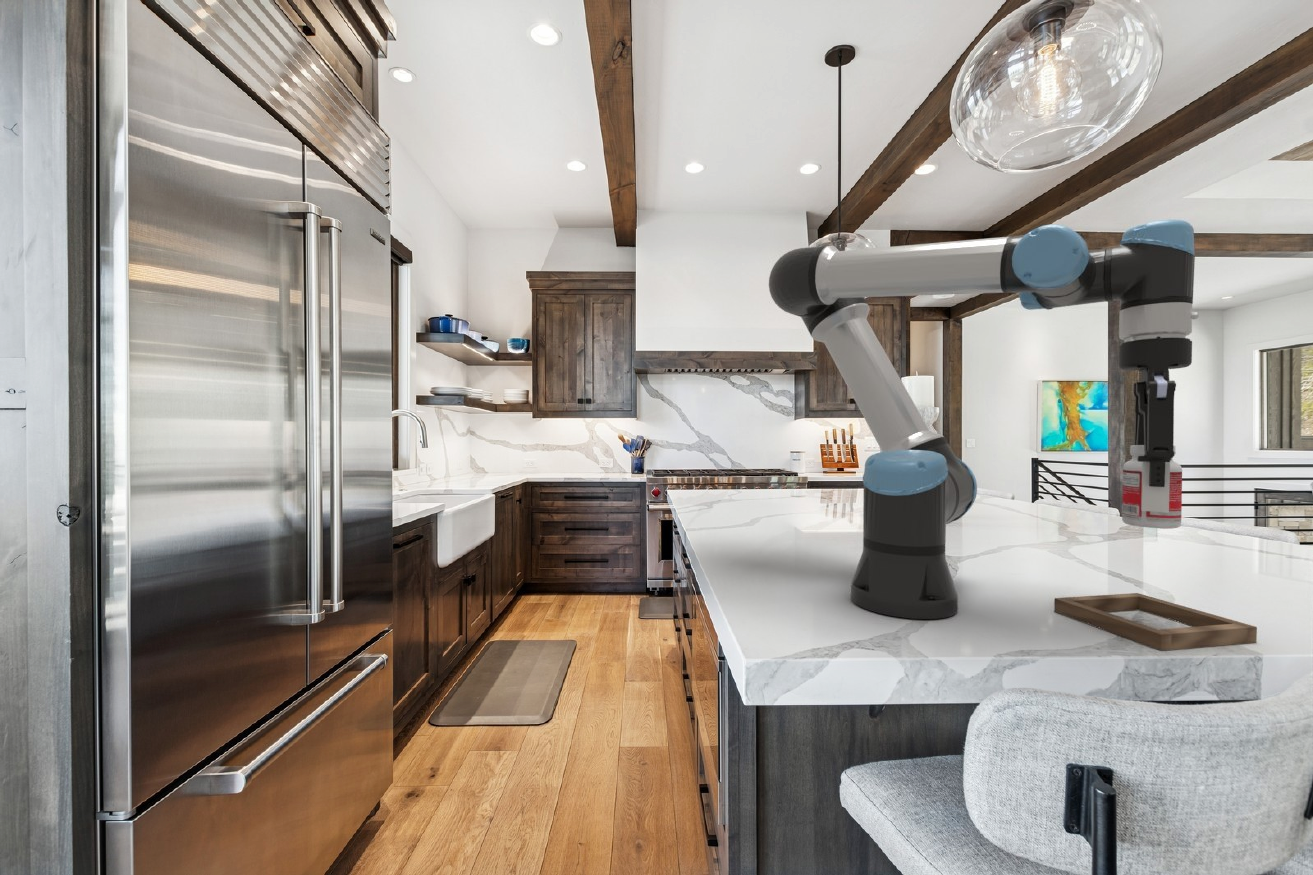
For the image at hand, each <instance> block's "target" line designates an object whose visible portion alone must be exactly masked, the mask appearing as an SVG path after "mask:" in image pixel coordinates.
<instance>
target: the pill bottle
mask: <svg viewBox="0 0 1313 875" xmlns="http://www.w3.org/2000/svg"><path fill="white" fill-rule="evenodd" d="M1129 449H1130V450H1129V455H1130V456H1132V457H1131V459H1130V460H1128V461H1126V462H1124V464H1123V466H1122V493H1121V494H1122V495H1121V496H1122V499H1121V500H1122V501H1121V505H1122V509H1121V516H1122V517H1121V520H1122V522H1123V524H1125V525H1129V526H1133V527H1134V526H1135V527H1142V528H1148V529H1150V528H1152V529H1162V530H1165V529H1167V530H1168V529H1177V528H1180V527H1181V525H1182V508H1183V507H1182V506H1183V504H1182V503H1183V500H1182V499H1183V495H1182V494H1183V468H1182V466H1181V464H1180V463H1178V462H1176V461H1175V460H1174V459H1173V458H1171V460H1170V462H1165V463H1170V486H1169V513H1168V512H1153V511H1142V510H1141V492H1142V462H1138V460H1137V458H1138V456H1144V455H1145V452H1144V445H1134V444H1131V445H1130V447H1129ZM1173 451H1174V457H1175V456H1176V446H1175V445H1173Z"/></svg>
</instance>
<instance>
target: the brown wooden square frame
mask: <svg viewBox="0 0 1313 875" xmlns="http://www.w3.org/2000/svg"><path fill="white" fill-rule="evenodd" d="M1053 601H1054V602H1053V603H1054V604H1053V605H1054V606H1053V607H1054V608H1053V610H1054V611H1053V612H1054V613H1057V614H1060V615H1062V616H1066V617H1068V618H1070V619H1074V620H1076V621H1079V622H1082V623H1085V624H1087V623H1089V624H1088V625H1090V624H1091V625H1090V626H1092V625H1093V626H1092V627H1095V626H1096V628H1098V627H1100V628H1102V629H1101V630H1103V629H1104V630H1103V631H1107V632H1108V633H1112V634H1115V635H1117V636H1120V637H1122V638H1125V639H1128V640H1130V641H1133V642H1136V643H1139V644H1142V645H1144V646H1147V647H1150V646H1151V647H1150V648H1152V647H1153V648H1152V649H1155V648H1156V650H1158V649H1159V650H1158V651H1160V650H1165V651H1173V650H1175V649H1176V650H1186V649H1196V648H1198V649H1199V648H1208V647H1219V646H1233V644H1234V645H1242V644H1255V643H1257V642H1258V641H1257V638H1258V637H1257V636H1258V634H1257V633H1258V632H1257V631H1258V627H1257V626H1255V625H1251V624H1249V623H1248V624H1247V623H1246V622H1245V623H1244V622H1242V621H1241V622H1240V621H1237V620H1233V619H1230V618H1227V617H1224V616H1223V617H1222V616H1219V615H1216V614H1212V613H1210V612H1209V613H1208V612H1206V611H1203V610H1198V609H1195V608H1192V607H1188V606H1185V605H1180V604H1177V603H1174V602H1171V601H1167V600H1163V599H1160V598H1156V597H1152V596H1150V595H1146V594H1142V593H1139V592H1132V593H1117V594H1116V593H1115V594H1102V595H1101V594H1099V595H1084V596H1083V595H1082V596H1068V597H1054V600H1053ZM1139 610H1140V611H1142V612H1146V613H1149V614H1153V615H1154V616H1155V615H1156V616H1158V617H1161V618H1164V619H1168V618H1170V619H1169V620H1171V619H1172V621H1174V620H1176V621H1175V622H1177V621H1179V622H1178V623H1180V622H1181V624H1184V623H1185V624H1184V625H1187V624H1188V625H1187V627H1185V626H1184V627H1177V628H1176V627H1175V628H1173V627H1172V628H1163V629H1162V628H1161V629H1159V628H1156V627H1153V626H1149V625H1147V624H1144V623H1140V622H1137V621H1134V620H1131V619H1128V618H1125V617H1122V616H1119V615H1116V614H1113V613H1111V612H1122V611H1123V612H1124V611H1125V612H1126V611H1139ZM1100 628H1099V629H1100ZM1176 650H1175V651H1176Z"/></svg>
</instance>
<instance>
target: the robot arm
mask: <svg viewBox="0 0 1313 875" xmlns="http://www.w3.org/2000/svg"><path fill="white" fill-rule="evenodd" d="M1194 232H1195V231H1194V227H1193V225H1191V223H1189V222H1188V221H1185V220H1183V219H1182V220H1181V219H1163V220H1156V221H1151V222H1146V223H1144V224H1141V225H1140V224H1139V225H1136V226H1133V227H1130V228H1129V229H1127V230H1126V231H1125V232H1123V234H1122V236H1121V240H1120V242H1119V245H1114V246H1111V247H1110V246H1109V247H1107V248H1101V249H1100V248H1099V249H1094V250H1089V247H1088V245H1087V242H1086V241H1085V239H1084V238H1083V237H1082V236H1081V235H1080V234H1079V233H1077V232H1076V231H1075V230H1074V229H1072V228H1070V227H1068V226H1066V225H1063V224H1046V225H1041V226H1039V227H1036V228H1034V229H1032V230H1031V231H1029V232H1028V233H1026V234H1022V235H1021V234H1020V235H1014V236H1013V235H1012V236H1002V237H990V238H989V237H988V238H978V239H966V240H965V239H964V240H957V241H956V240H955V241H953V240H952V241H944V242H943V241H941V242H933V243H931V242H930V243H919V244H909V245H906V244H905V245H896V246H886V247H885V246H883V247H874V248H872V247H871V248H863V249H862V248H861V249H850V250H848V249H847V250H839V249H838V248H837V247H836V246H834V245H824V246H823V245H822V246H811V247H808V246H807V247H800V248H795V249H791V250H790V251H788V252H786V253H784V254H783V255H782V256H780V257H779V258H778V259H777V261H776V262H775V263H774V265H773V266H772V268H771V271H770V274H769V278H768V290H769V293H770V294H769V295H770V297H771V299H772V301H773V302H774V304H775V305H776V306H777V307H778V308H780V309H781V310H782V311H783V312H785V313H787V314H790V315H794V316H797V317H800V318H801V320H802V321H803V324H804V325H805V327H806V329H807V331H808V333H809V335H810V337H811V338H812V340H813V341H816V342H819V343H823V344H824V345H825V347H826V349H827V351H828V353H829V354H830V356H831V359H832V360H833V362H834V364H835V365H836V368H837V370H838V371H839V373H840V376H841V377H842V379H843V380H844V383H845V384H846V386H847V388H848V389H849V392H850V394H851V396H852V397H853V400H854V401H855V403H856V406H857V407H858V409H859V411H860V413H861V414H862V417H863V418H864V420H865V422H866V424H867V426H868V428H869V429H870V432H871V433H872V435H873V437H874V438H875V439H874V440H875V441H876V443H877V444H878V447H879V448H880V451H881V452H876V453H874V454H872V455H870V456H869V457H867V459H866V460H865V461H864V462H865V463H864V471H863V472H864V473H863V474H862V482H863V524H862V525H863V528H862V529H863V532H862V533H863V537H862V543H863V544H862V545H863V546H862V552H861V556H860V559H859V561H858V564H857V566H856V570H855V573H854V574H853V578H852V580H851V583H850V600H851V601H852V602H853V603H854V604H856V605H857V606H858V607H861V608H862V609H865V610H868V611H871V612H875V613H876V614H877V613H878V614H883V615H884V616H885V615H886V616H891V617H896V618H898V617H899V618H903V619H914V620H915V619H917V620H918V619H919V620H934V619H935V620H938V619H945V618H950V617H952V616H954V615H956V614H957V613H958V607H959V605H958V604H959V599H958V598H959V597H958V592H957V590H956V585H955V583H954V580H953V577H952V574H951V571H950V568H949V565H948V562H947V558H946V540H947V539H946V538H947V536H946V535H947V534H946V533H947V531H946V530H947V529H946V528H947V527H946V526H947V524H950V523H953V522H955V521H958V520H959V519H961V518H962V517H964V515H965V514H967V512H968V511H970V509H971V508H972V506H973V505H974V503H975V502H976V501H975V500H976V498H977V494H978V485H977V480H976V477H975V474H974V472H973V471H972V469H971V468H970V466H968V465H967V463H965V462H964V461H963V460H962V459H960V458H958V457H957V456H956V455H955V453H954V451H953V450H952V448H951V446H950V444H949V443H948V441H947V439H946V437H945V436H944V435H942V434H939V433H935V432H933V431H931V430H930V429H929V426H928V425H927V423H926V422H925V420H924V418H923V416H922V414H921V413H920V411H919V409H918V407H917V406H916V404H915V403H914V401H913V398H912V396H910V393H909V392H908V390H907V388H906V386H905V385H904V383H903V380H902V379H901V377H900V376H899V374H898V372H897V370H896V369H895V368H894V365H893V363H892V362H891V360H890V357H889V356H888V355H887V353H886V351H885V349H884V348H883V345H881V341H879V339H878V337H877V336H876V333H875V332H874V330H873V328H872V327H871V325H870V323H869V321H868V316H869V314H870V311H871V307H870V305H869V304H868V302H867V300H866V298H874V297H875V298H880V297H883V298H884V297H885V298H887V297H910V296H911V297H913V296H915V297H916V296H935V295H936V296H937V295H938V296H939V295H968V294H969V295H970V294H971V295H972V294H998V293H1005V294H1008V293H1014V294H1015V293H1017V294H1018V296H1019V301H1020V305H1021V307H1023V309H1025V310H1027V311H1028V310H1029V311H1030V310H1031V311H1032V310H1033V311H1034V310H1042V309H1043V310H1047V311H1049V310H1052V309H1057V308H1062V307H1064V308H1065V307H1072V306H1080V305H1088V304H1095V303H1097V304H1098V303H1104V302H1114V301H1120V306H1119V307H1120V308H1119V318H1118V321H1119V322H1118V324H1119V326H1118V339H1120V340H1122V341H1124V342H1123V343H1121V345H1119V348H1118V351H1119V352H1118V367H1119V369H1120V370H1121V371H1131V372H1132V371H1139V372H1140V375H1139V381H1136V382H1135V383H1133V384H1132V385H1133V387H1132V394H1133V395H1134V405H1133V410H1134V434H1133V435H1134V437H1133V445H1144V452H1145V455H1144V456H1138V458H1137V460H1138V462H1142V492H1141V510H1142V511H1153V512H1168V513H1169V486H1170V463H1165V462H1170V460H1171V458H1172V459H1173V458H1174V457H1175V456H1174V451H1173V446H1174V438H1175V437H1174V436H1175V435H1174V431H1175V430H1174V429H1175V428H1174V426H1175V425H1174V424H1175V423H1174V422H1175V419H1174V418H1175V417H1174V416H1175V391H1176V387H1177V382H1176V381H1175V380H1170V371H1169V370H1175V369H1183V368H1187V367H1190V366H1191V365H1192V361H1193V340H1191V338H1188V337H1187V336H1189V335H1190V334H1192V332H1193V320H1197V319H1198V318H1199V313H1198V311H1197V312H1196V311H1192V309H1193V303H1194V283H1195V282H1194V281H1195V279H1194V278H1195V263H1196V262H1195V260H1196V253H1195V252H1196V251H1195V250H1196V249H1195V233H1194Z"/></svg>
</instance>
